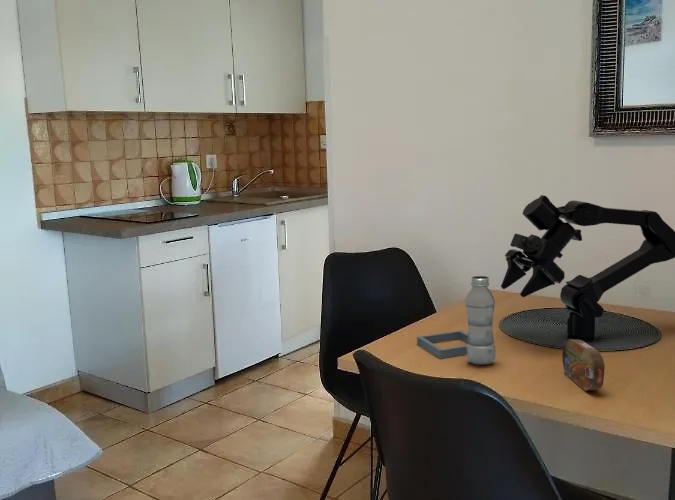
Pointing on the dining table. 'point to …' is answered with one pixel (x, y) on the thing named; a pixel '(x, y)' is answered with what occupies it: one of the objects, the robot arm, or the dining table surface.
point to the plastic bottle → (480, 322)
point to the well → (428, 341)
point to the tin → (583, 364)
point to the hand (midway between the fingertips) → (511, 291)
